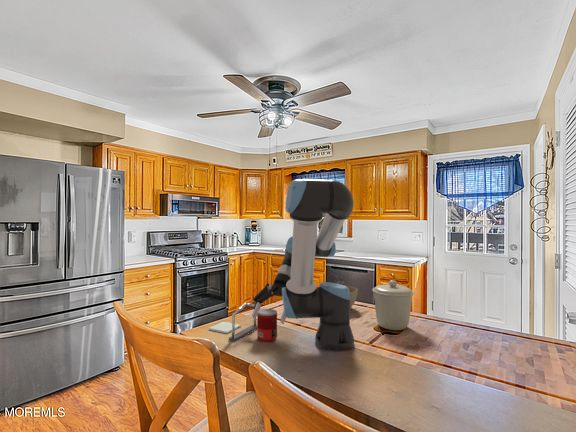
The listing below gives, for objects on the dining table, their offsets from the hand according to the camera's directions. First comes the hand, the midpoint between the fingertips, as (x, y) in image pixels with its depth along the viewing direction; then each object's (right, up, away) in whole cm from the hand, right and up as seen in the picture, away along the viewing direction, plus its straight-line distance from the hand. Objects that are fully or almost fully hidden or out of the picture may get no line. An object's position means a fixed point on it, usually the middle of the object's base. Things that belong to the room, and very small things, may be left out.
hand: (267, 320), depth 133 cm
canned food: (0, -7, -1) cm, 7 cm away
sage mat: (-19, -7, +10) cm, 23 cm away
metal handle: (-10, -7, +4) cm, 13 cm away
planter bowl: (+38, -8, +42) cm, 57 cm away
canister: (+56, -8, +14) cm, 58 cm away
